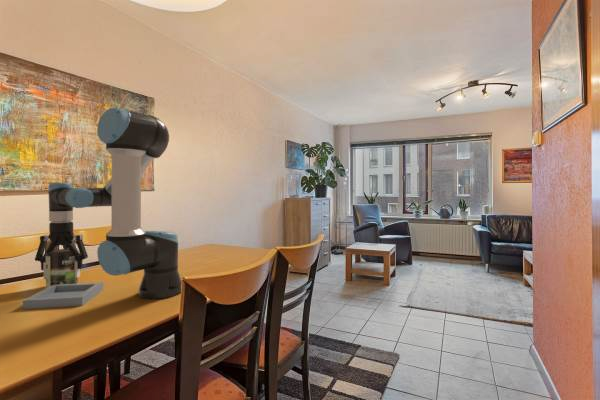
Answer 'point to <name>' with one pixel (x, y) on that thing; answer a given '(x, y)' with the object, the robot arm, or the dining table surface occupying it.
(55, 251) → the coffee can
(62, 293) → the grey square tray
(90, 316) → the dining table surface
